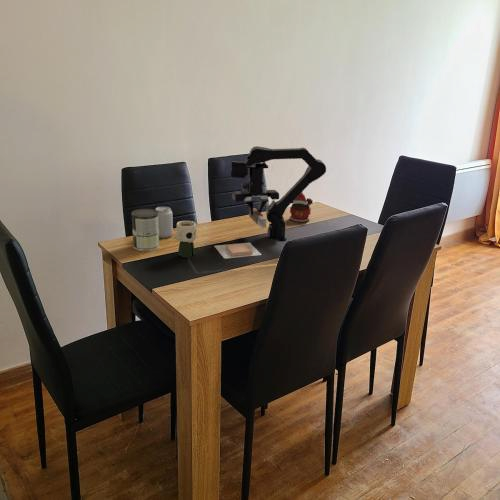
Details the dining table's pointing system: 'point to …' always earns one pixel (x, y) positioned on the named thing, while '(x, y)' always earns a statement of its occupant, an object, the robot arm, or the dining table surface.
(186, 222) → the character mug
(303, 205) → the red and brown figurine
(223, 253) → the mat
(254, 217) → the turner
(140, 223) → the coffee can
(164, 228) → the can
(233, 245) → the tile
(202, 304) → the dining table surface
